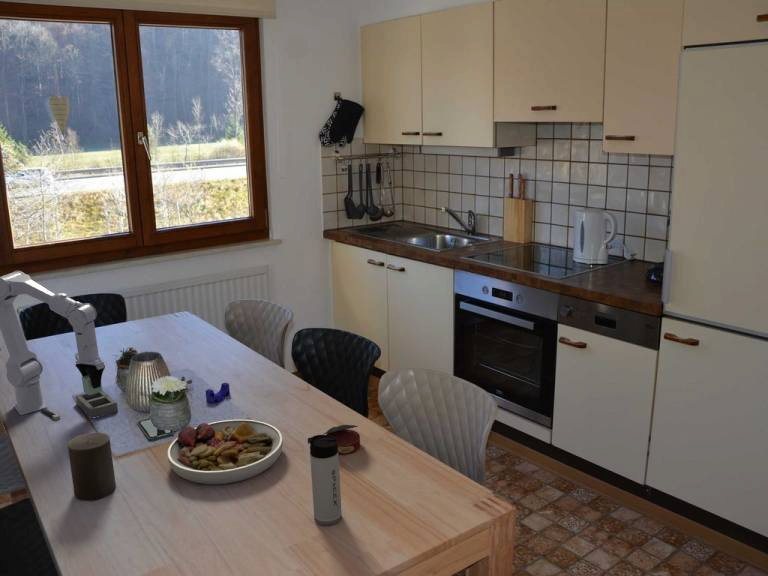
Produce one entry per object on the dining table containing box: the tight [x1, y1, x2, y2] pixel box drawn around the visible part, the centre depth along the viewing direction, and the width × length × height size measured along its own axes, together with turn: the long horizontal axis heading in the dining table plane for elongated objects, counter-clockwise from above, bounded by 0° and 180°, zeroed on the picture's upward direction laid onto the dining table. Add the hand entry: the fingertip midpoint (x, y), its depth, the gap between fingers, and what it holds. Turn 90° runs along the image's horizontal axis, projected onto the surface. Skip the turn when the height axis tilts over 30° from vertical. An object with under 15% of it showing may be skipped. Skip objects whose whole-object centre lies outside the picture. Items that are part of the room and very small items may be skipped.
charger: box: [81, 375, 103, 395], centre depth 223 cm, size 4×4×5 cm
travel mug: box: [307, 434, 343, 527], centre depth 162 cm, size 6×7×20 cm
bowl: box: [166, 419, 284, 485], centre depth 192 cm, size 30×30×8 cm
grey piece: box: [75, 389, 119, 419], centre depth 228 cm, size 15×8×3 cm, turn 39°
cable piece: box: [40, 408, 61, 421], centre depth 224 cm, size 10×1×1 cm, turn 49°
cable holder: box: [205, 382, 231, 405], centre depth 232 cm, size 8×4×4 cm, turn 143°
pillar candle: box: [67, 432, 117, 502], centre depth 178 cm, size 10×10×15 cm
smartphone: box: [137, 417, 175, 442], centre depth 213 cm, size 7×1×15 cm
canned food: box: [323, 424, 361, 456], centre depth 197 cm, size 11×10×10 cm
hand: (93, 385), depth 223 cm, fingers closed on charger, 4 cm apart
